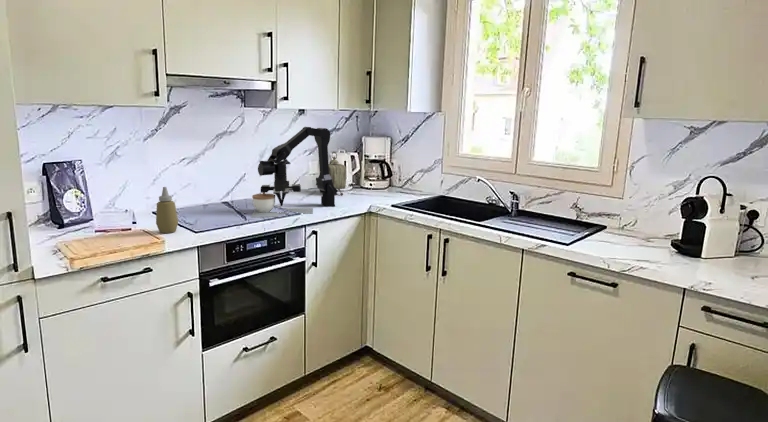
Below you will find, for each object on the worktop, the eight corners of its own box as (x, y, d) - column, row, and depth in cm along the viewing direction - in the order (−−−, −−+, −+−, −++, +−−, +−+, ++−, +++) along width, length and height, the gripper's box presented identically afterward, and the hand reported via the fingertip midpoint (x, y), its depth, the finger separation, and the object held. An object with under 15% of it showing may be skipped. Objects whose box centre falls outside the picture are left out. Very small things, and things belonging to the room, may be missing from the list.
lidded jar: (279, 211, 238) (279, 192, 236) (258, 214, 232) (257, 194, 230) (269, 208, 247) (269, 189, 245) (249, 210, 240) (248, 191, 238)
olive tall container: (346, 195, 287) (346, 152, 282) (331, 196, 282) (331, 153, 277) (335, 192, 299) (335, 150, 294) (321, 193, 295) (321, 150, 290)
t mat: (312, 206, 255) (312, 205, 255) (312, 217, 230) (312, 216, 230) (257, 207, 251) (257, 206, 251) (250, 218, 226) (250, 216, 226)
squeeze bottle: (174, 228, 202) (171, 184, 199) (182, 232, 197) (179, 187, 193) (153, 231, 197) (150, 186, 193) (161, 235, 191) (157, 189, 188)
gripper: (258, 176, 228) (260, 209, 231) (299, 175, 230) (300, 208, 233) (261, 173, 238) (262, 205, 242) (300, 172, 241) (301, 204, 244)
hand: (281, 205), depth 240 cm, fingers closed
